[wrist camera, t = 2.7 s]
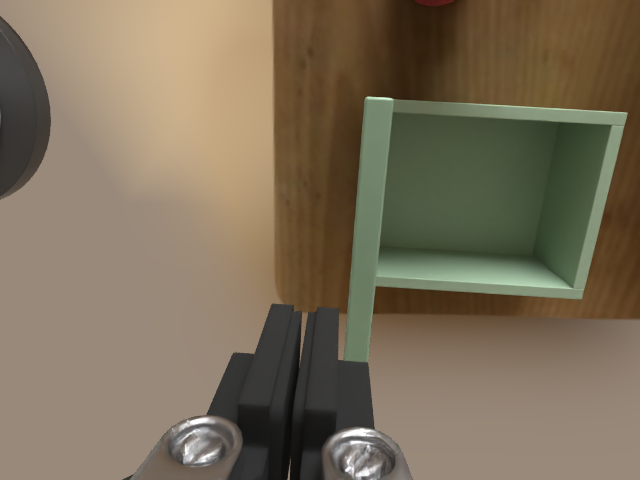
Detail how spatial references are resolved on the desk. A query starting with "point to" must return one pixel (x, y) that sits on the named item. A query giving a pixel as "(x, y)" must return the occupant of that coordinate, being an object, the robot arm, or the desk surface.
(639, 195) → the desk surface
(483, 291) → the box
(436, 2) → the paper cup
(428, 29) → the desk surface
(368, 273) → the lid
